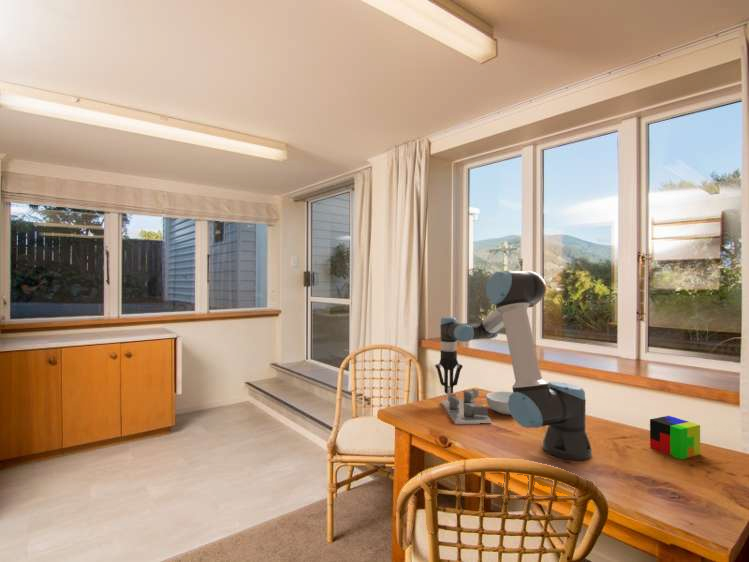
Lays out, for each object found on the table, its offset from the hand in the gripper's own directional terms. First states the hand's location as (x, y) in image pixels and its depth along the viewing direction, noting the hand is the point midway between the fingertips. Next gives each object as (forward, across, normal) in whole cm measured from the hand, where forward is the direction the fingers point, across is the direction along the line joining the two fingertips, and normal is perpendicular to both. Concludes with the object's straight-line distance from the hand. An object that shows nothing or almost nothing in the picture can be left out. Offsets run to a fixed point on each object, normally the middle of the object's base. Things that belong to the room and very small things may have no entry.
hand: (448, 400), depth 183 cm
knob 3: (+1, -8, +17) cm, 19 cm away
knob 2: (+1, -12, -5) cm, 13 cm away
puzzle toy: (+3, -67, +51) cm, 84 cm away
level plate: (+3, -5, +8) cm, 10 cm away
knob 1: (+2, -2, +3) cm, 4 cm away
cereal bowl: (+3, -24, +8) cm, 26 cm away
